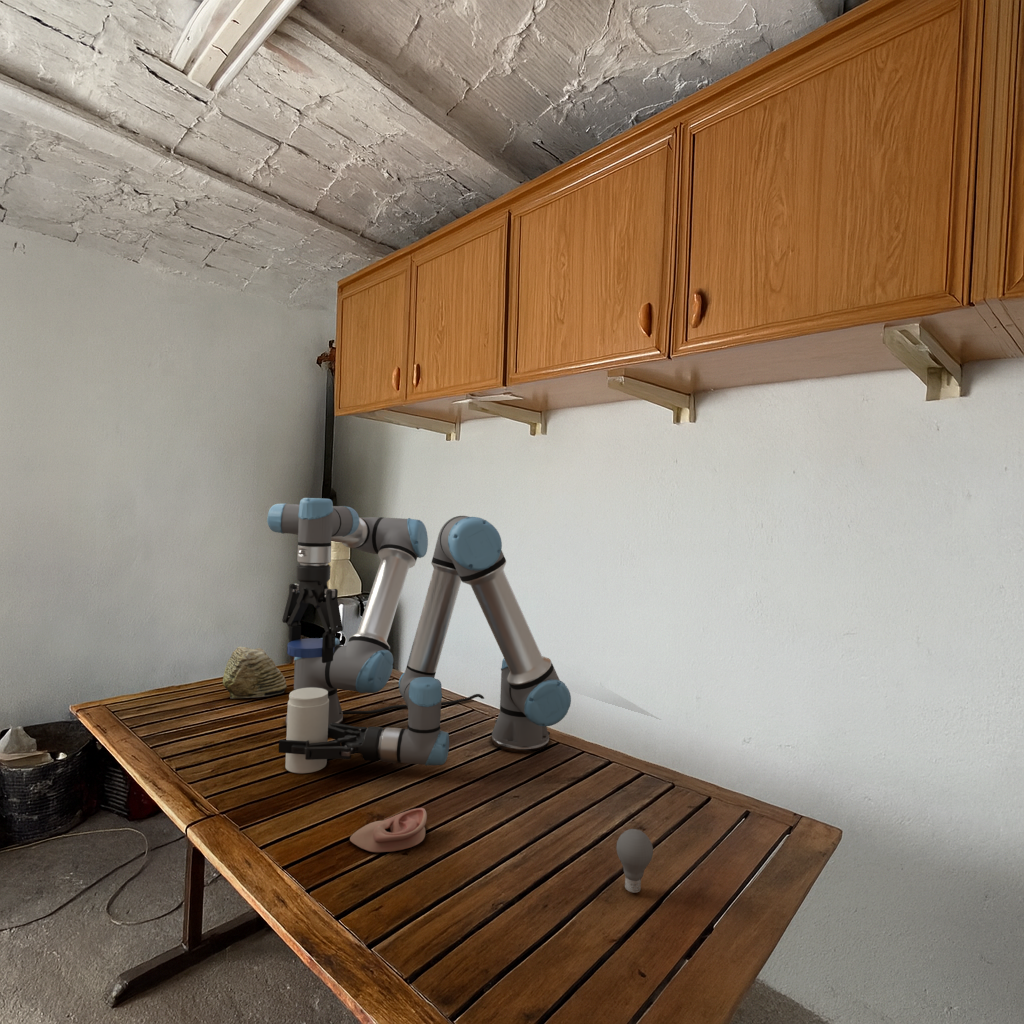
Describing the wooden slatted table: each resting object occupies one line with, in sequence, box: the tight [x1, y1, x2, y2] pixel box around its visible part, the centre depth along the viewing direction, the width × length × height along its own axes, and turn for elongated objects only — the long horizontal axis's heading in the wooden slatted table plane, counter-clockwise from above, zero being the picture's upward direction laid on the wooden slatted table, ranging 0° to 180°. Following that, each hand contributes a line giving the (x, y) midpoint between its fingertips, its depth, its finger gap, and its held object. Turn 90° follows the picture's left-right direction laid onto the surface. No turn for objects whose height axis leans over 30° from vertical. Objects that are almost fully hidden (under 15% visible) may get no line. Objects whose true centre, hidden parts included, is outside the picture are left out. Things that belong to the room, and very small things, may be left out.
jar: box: [284, 688, 329, 774], centre depth 149 cm, size 9×9×17 cm
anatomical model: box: [349, 807, 428, 853], centre depth 119 cm, size 13×4×12 cm
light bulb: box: [615, 828, 654, 894], centre depth 106 cm, size 6×6×10 cm
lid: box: [286, 637, 335, 658], centre depth 149 cm, size 11×11×2 cm
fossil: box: [222, 646, 288, 699], centre depth 198 cm, size 9×18×15 cm, turn 132°
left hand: (310, 657), depth 149 cm, fingers closed on lid, 10 cm apart
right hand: (288, 737), depth 149 cm, fingers closed on jar, 9 cm apart
